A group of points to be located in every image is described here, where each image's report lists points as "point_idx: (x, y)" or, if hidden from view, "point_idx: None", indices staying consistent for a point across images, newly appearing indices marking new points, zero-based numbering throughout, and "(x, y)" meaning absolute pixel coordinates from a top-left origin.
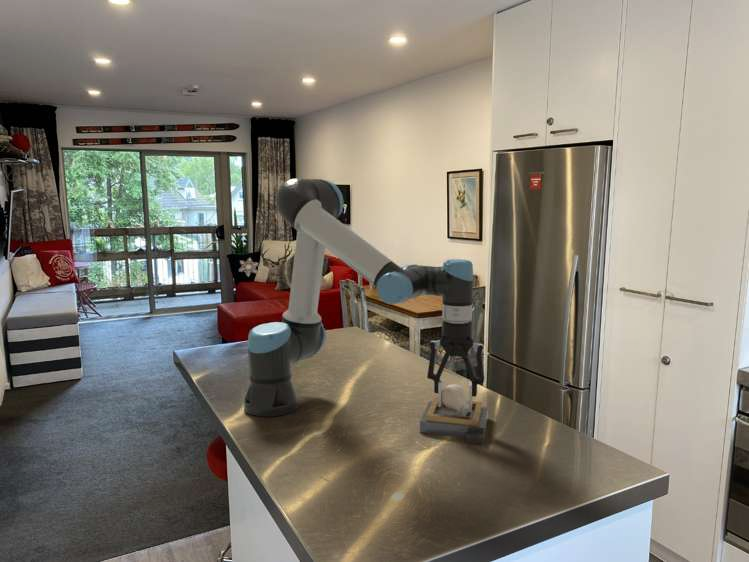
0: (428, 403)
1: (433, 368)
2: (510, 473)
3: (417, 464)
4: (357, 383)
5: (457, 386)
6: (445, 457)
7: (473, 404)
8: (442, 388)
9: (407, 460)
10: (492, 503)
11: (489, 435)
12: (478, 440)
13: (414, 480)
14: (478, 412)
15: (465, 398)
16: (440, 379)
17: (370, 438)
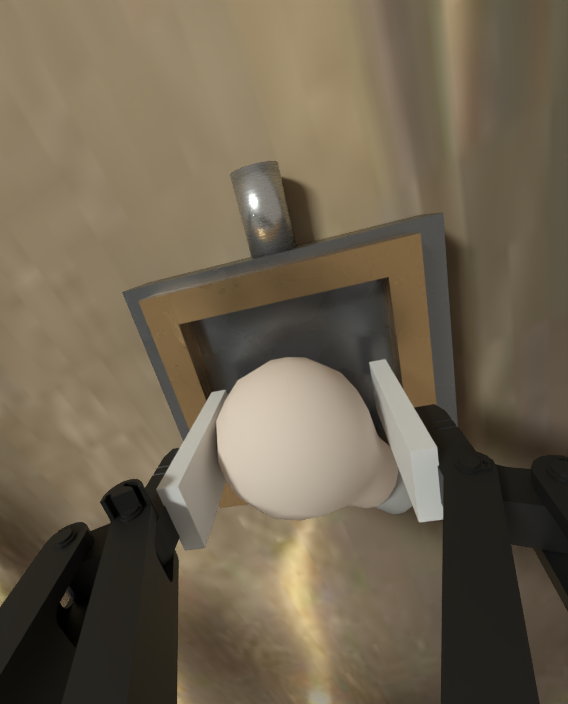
0: (132, 316)
1: (69, 663)
2: (543, 580)
3: (302, 611)
4: None
5: (318, 496)
6: (354, 566)
7: (370, 279)
8: (203, 449)
9: (272, 604)
10: None
11: (456, 392)
12: None
13: (325, 658)
14: (427, 394)
15: (378, 474)
16: (159, 488)
17: None
